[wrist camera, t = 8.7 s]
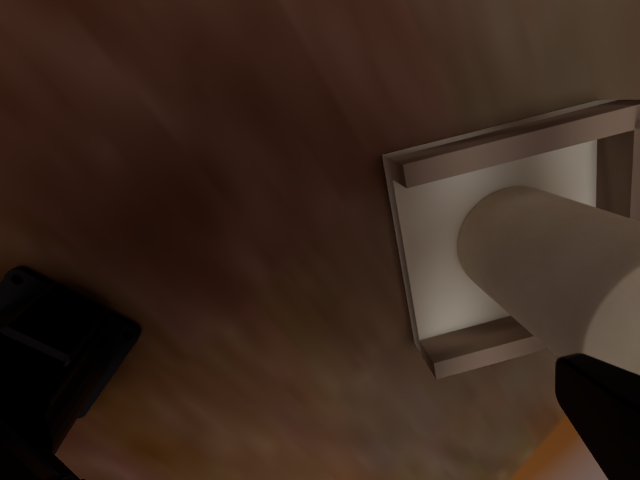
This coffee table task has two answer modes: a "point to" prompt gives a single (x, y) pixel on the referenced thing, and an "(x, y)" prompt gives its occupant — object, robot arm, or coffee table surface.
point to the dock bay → (475, 185)
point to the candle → (559, 271)
